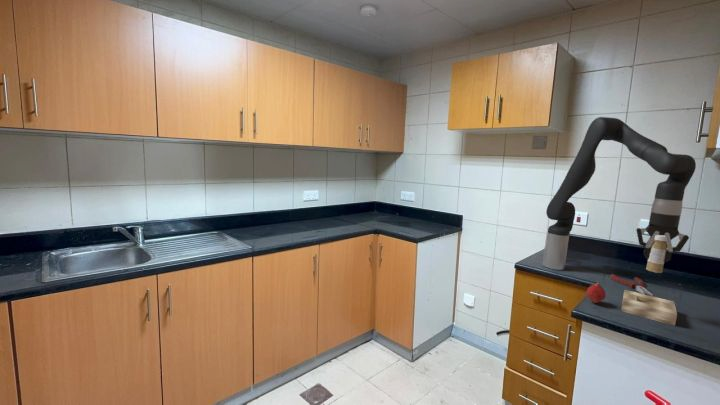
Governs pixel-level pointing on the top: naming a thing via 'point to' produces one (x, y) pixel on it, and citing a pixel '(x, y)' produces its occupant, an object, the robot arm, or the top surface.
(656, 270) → the sprinkles bottle
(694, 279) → the top surface
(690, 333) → the top surface
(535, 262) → the top surface
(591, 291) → the onion
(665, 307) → the holder
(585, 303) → the top surface
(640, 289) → the pliers
